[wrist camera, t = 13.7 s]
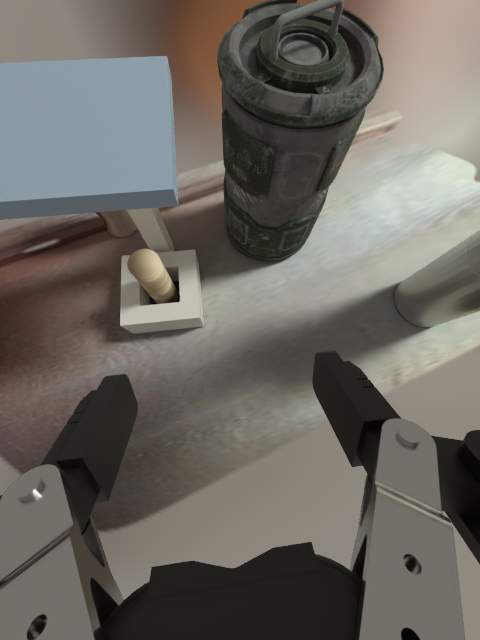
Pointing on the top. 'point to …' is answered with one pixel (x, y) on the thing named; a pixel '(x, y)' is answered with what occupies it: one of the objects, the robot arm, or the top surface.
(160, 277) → the peg
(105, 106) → the kiosk
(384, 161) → the top surface
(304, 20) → the canister
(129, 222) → the beer glass
